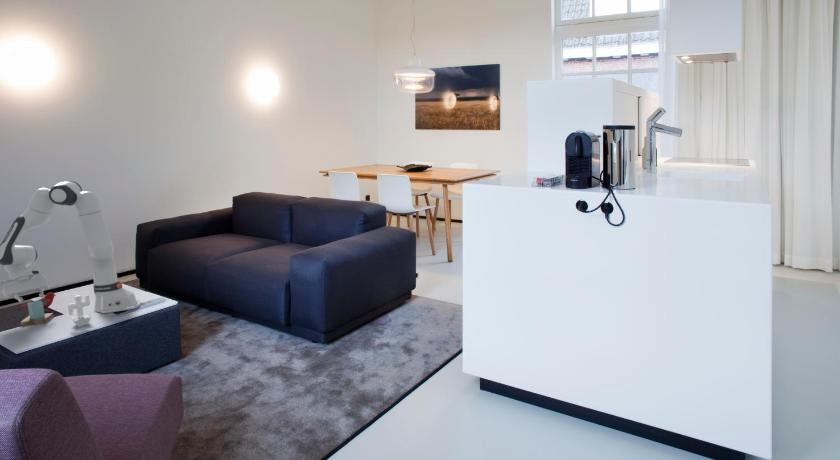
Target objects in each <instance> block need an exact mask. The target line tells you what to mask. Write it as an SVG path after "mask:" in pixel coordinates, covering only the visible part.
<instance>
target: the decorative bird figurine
mask: <svg viewBox="0 0 840 460" xmlns="http://www.w3.org/2000/svg"><path fill="white" fill-rule="evenodd" d="M55 296H56V294H55V293H54V292H52V291H51V292H48V293H46V294H44V297H40V298H39V299H38V300H39V301H42V302H43V308H44V313H45V312H46V313H47V312H48V311H49V309H48V308H49V307H50V306H52V304H53V302H54V298H55ZM18 307H20V308H21V307H22V308H28V304H23V305H18ZM45 309H46V310H45ZM47 309H48V310H47Z"/></svg>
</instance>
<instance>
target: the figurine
mask: <svg viewBox="0 0 840 460" xmlns="http://www.w3.org/2000/svg"><path fill="white" fill-rule="evenodd" d="M74 300H75V302H73V303H69V304H68V306H67V307H68V308H67V311H68V314H69V315H70V316H72V315H73V314H74V311H73V310H75V309H76V314H77V316H74V317H73V316H72V317H70V319H71V320H72V321H73V323H74V324H75V325H76V326H77V327H78V328H79V327H82V326H87V325H89V323H90V321H91V318H92V317H91V316H90V314H87V313H86V314H84V309H83V308H85V307H88V306H90V303H91V302H90V296H89V294H85V296H84V300H82V295H81V294H80V295H78V294H77V295H74Z"/></svg>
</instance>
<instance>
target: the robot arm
mask: <svg viewBox="0 0 840 460" xmlns="http://www.w3.org/2000/svg"><path fill="white" fill-rule="evenodd" d="M56 205H58V206H59V205H60V206H69V207H70V206H71V207H72V206H74V207H75V209H76V212H77V215H78V218H79V222H80V225H81V229H82V231H83V233H84V237H85V239H86V242H87V249H88V254H89V255H88V256H89V259H90V266H91V271H92V278H93V293H94V296H95V304H94V312H97V313H101V314H108V313H109V314H110V313H114V312H121V311H122V312H123V311H128V310H134V309H137V308H139V307H140V306H141V304H142V302H141V300H139V299H138V300H137V298H136V295H135V293H134V292H133V291H131V290H128V289H126V288H124V287H123V281H119V280H118V274H117V269H116V264H115V258H114V253H115V247H114V242H113V240H112V237H111V235H110V231H109V228H108V225H107V222H106V220H105V215H104V212H103V210H102V206H101V203H100V201H99V199H98V197H97V195H96V194H95V193H94V192H92V191H83V188H82V186H81V184H79V183H78V182H76V181H74V180H67V181H61V182H58V183H56V184H54V185H52V186H51V187H50V188H47V187H40V188H38V189H36V190H35V191H34V193H33V194H32V197H31V198H30V200H29V203H28V205H27V207H26V208H25V211H24V212H23V213H22V214H21V215H20V216H18V217H16V218H15V219H14V221H13V222H12V224H11V225H10V228H9V229H8V231H7V232H6V234H5V237H4V238H3V239H2V242H1V243H0V265H1V266H3V268H4V271H6V273H7V274H8V277H9V280H5V281H4V280H3V281H1V282H0V290H1V292H2V296H3V297H4V298H6V299H9V298H10V299H11V298H14V299H15V300H17V301H18V302H19V303H22V302H24V299H23V297H21V296H23V295H26V294H31V293H35V292H39V294H38V295H39V298H43V297H44V296H45V294H44V290H48V289H49V287H50V286H51V285H50V282H49V280H48V278H47V277H46V276H45V274H42V273H43V272H42V271H41V269H40V270H39V269H28V267H30V266H32V264H34V263H35V262H36V260H38V251H37V249H36V248H35V247H34V246H32V245H17V243H18V241H19V239H20V237H21V236H22V234H23V233H24V232H26V231H29V230H31V229H35V228H38V227H41V226H44V225H46V224H47V223H49V221H51V218H52V215H53V212H54V210H55V207H56ZM140 302H141V303H140ZM138 303H140V304H139V305H136V304H138ZM134 305H135V306H136V307H133V308H127V307H131V306H134ZM125 308H126V309H125Z"/></svg>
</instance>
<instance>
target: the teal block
mask: <svg viewBox="0 0 840 460" xmlns="http://www.w3.org/2000/svg"><path fill="white" fill-rule="evenodd" d="M26 305H28V307H27V309H28V310H27V311H28V314H29V315H28V316H30V318H31V319H38V318H42V317H45V314H46V313H45V312H44V311H45V309H44V308H43V302H42V301H39V299H37V300H34V301H30V302H27V304H26Z"/></svg>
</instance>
